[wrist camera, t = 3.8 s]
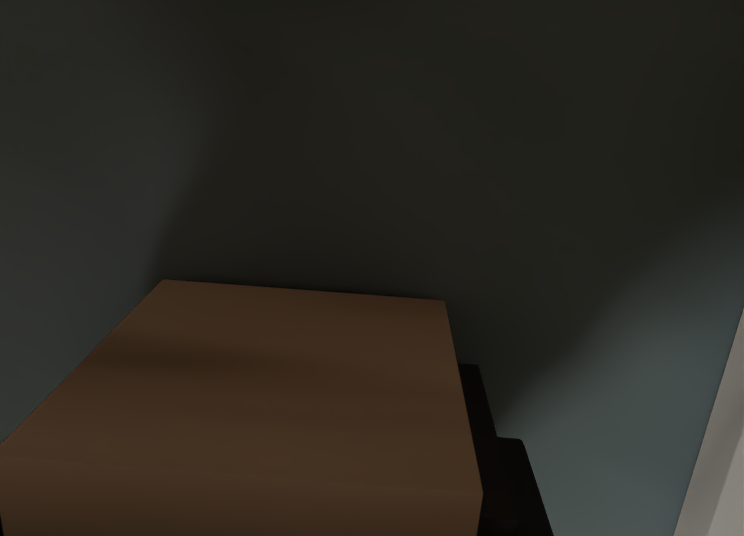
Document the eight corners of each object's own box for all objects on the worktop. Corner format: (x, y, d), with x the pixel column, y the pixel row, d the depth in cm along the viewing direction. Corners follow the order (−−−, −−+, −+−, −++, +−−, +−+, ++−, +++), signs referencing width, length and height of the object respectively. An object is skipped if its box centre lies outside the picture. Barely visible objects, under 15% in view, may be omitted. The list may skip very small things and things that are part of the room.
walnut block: (418, 526, 13) (432, 811, 8) (174, 507, 13) (45, 778, 8) (444, 300, 11) (483, 493, 6) (162, 279, 11) (-11, 454, 6)
